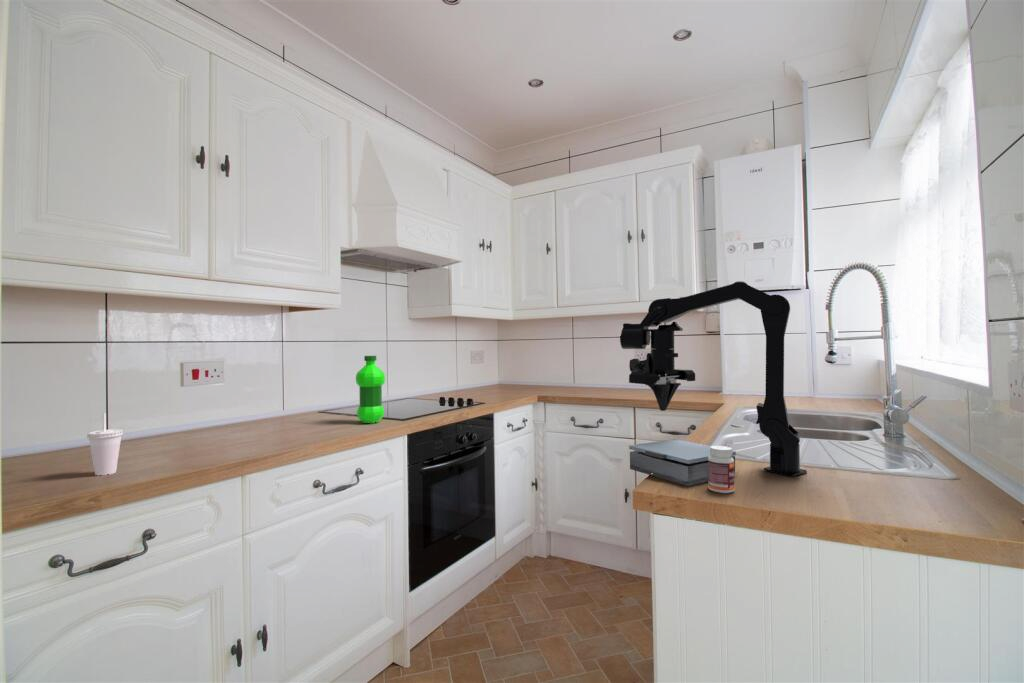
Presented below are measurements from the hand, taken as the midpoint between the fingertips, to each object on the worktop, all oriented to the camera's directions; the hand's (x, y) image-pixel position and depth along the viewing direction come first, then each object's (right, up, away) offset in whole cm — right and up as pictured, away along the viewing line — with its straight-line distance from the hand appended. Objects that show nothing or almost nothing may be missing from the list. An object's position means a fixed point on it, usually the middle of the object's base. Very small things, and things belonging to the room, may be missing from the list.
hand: (662, 410), depth 121 cm
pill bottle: (+3, -12, -26) cm, 29 cm away
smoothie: (-132, -13, -11) cm, 133 cm away
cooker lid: (0, -7, -13) cm, 15 cm away
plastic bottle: (-91, -13, +57) cm, 108 cm away
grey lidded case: (0, -12, -13) cm, 18 cm away
